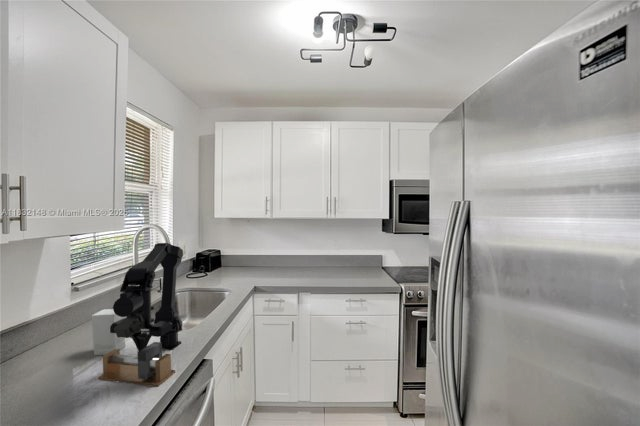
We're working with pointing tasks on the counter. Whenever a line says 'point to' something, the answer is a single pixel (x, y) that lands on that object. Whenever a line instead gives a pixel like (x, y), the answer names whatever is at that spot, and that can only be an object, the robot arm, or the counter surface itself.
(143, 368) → the collar
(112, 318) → the skincare box
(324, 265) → the counter surface
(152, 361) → the pipe rig
